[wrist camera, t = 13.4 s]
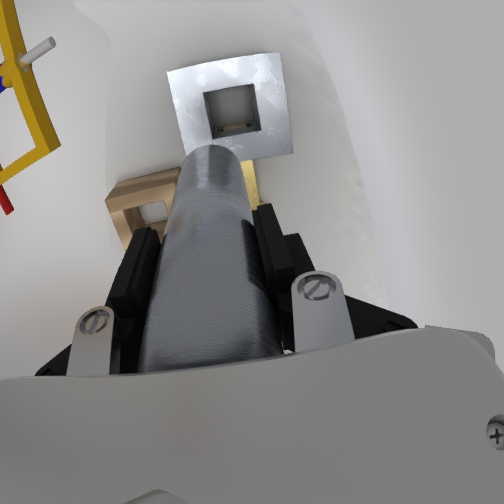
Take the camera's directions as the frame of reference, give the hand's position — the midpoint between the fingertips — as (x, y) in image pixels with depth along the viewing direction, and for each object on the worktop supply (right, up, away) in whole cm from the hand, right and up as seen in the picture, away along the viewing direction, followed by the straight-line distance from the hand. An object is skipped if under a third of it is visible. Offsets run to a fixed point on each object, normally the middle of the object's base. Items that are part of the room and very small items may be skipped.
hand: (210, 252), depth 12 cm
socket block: (-1, +16, +19) cm, 25 cm away
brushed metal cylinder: (-1, +5, +6) cm, 8 cm away
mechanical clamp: (-29, +20, +14) cm, 38 cm away
